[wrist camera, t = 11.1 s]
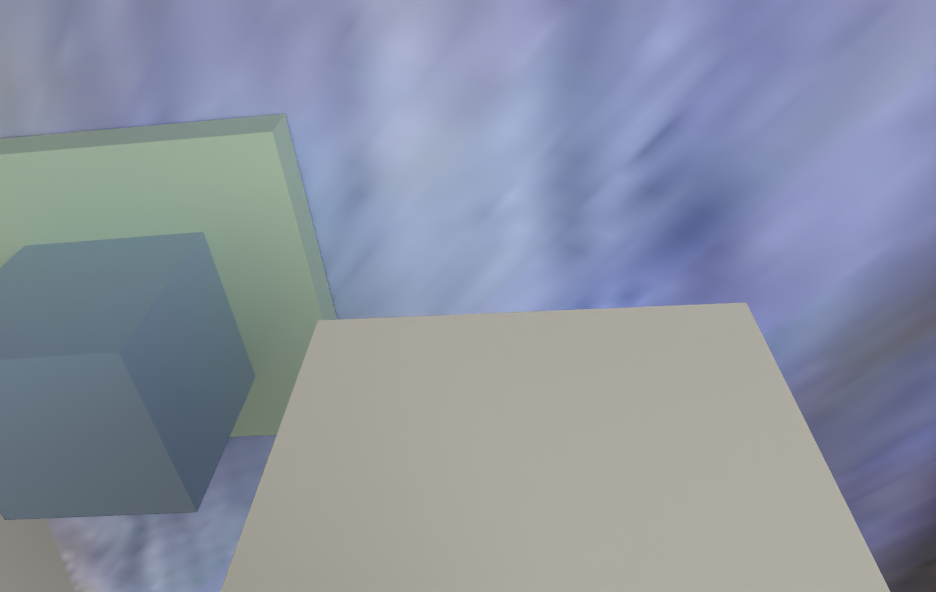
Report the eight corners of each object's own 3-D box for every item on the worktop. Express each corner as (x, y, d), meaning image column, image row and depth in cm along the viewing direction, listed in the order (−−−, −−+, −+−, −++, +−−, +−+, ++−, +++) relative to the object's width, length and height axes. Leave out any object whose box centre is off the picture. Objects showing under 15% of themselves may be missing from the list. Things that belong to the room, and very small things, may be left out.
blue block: (255, 376, 21) (197, 511, 17) (98, 385, 22) (4, 519, 18) (203, 231, 19) (118, 352, 14) (24, 245, 19) (-108, 366, 15)
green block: (359, 405, 23) (352, 431, 22) (73, 419, 24) (56, 444, 23) (284, 113, 18) (272, 131, 17) (-82, 145, 19) (-114, 164, 18)
